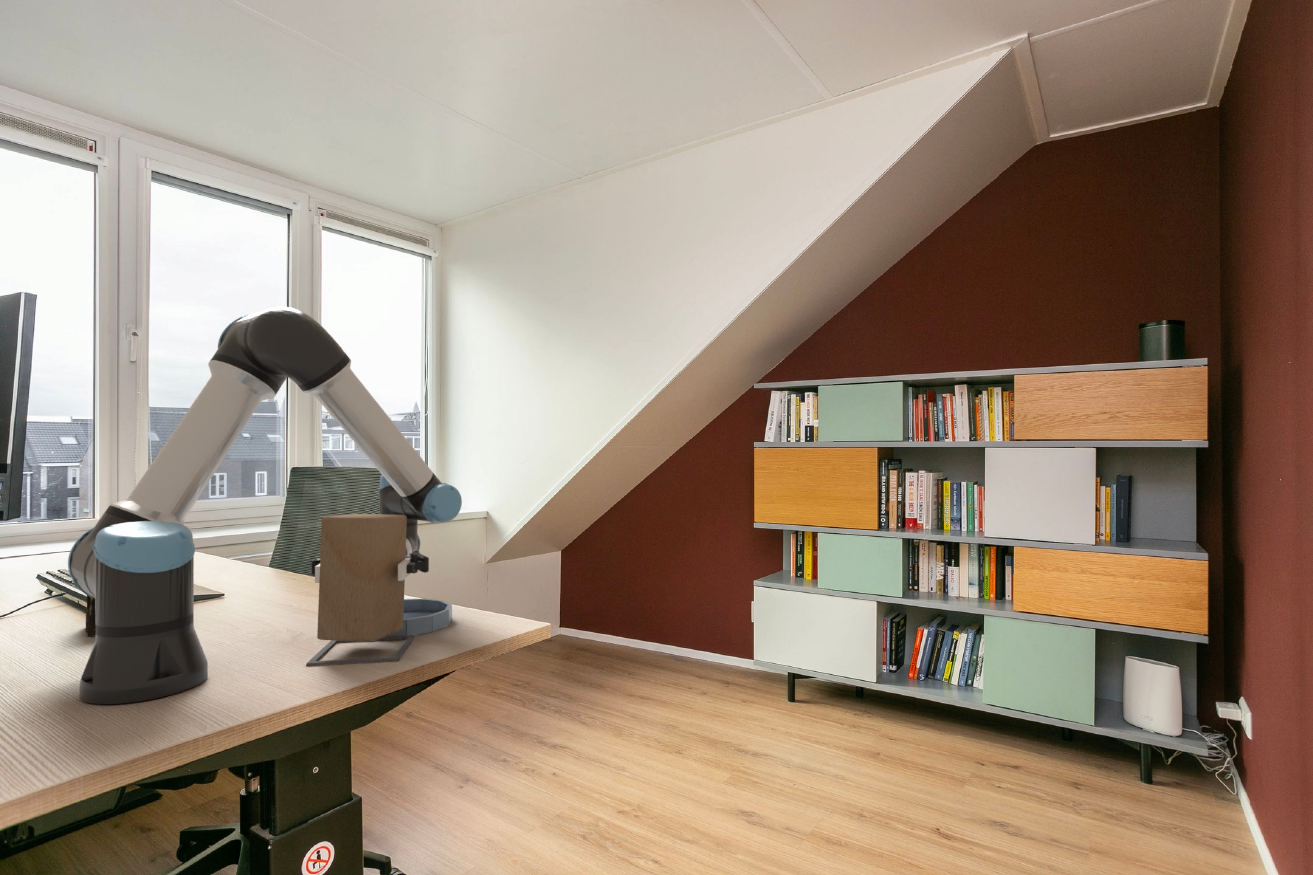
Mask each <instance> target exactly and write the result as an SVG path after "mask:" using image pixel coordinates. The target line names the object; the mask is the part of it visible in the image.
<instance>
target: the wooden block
mask: <svg viewBox="0 0 1313 875" xmlns="http://www.w3.org/2000/svg"><path fill="white" fill-rule="evenodd" d="M406 524H407V517H406V516H405V515H383V514H373V513H354V514H353V513H352V514H340V515H330V516H329V515H325V516H323V517H322V519H321V532H320V533H321V534H320V535H321V536H320V554H319V555H320V556H319V559H320V580H319V583H318V585H319V586H318V605H317V606H318V610H317V611H318V612H317V613H318V614H317V630H316V631H317V633H316V634H317V635H316V638H317V640H319V641H331V640H334V641H353V642H352V643H357V642H359V643H374V642H376V640H379V639H381V638H384V637H386V636H389V635H391V634H394V633H396V632H399V631H401V630H402V629H403V616H404V599H405V582H406V581H405V579H406V578H405V579H404V580H403V581H398V564H399V563H401V562H402V561H403V560H404V559H405V555H406Z"/></svg>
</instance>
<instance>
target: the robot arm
mask: <svg viewBox="0 0 1313 875" xmlns="http://www.w3.org/2000/svg"><path fill="white" fill-rule="evenodd" d="M207 364H208V368H209V371H210V374H211V376H210V378H209V380H208V381H206V384H205V385H204V386H203V388H202V389H201V391H200V393H199V394H198V395H197V397H196V398H195V400H194V401H193V403H192V404H191V405H190V407H189V409H188V410H187V411H186V413H185V415H183V417H182V419H181V420H180V421H179V423H178V425H176V428H175V429H174V431H172V433H171V435H170V436H169V438H168V439H167V441H165V444H164V445H163V446H162V447H161V449H160V450H159V452H158V454H157V455H156V456H155V458H154V460H153V461H152V463H151V464H150V465H149V466H148V468H147V470H146V471H145V472H144V474H143V475H142V477H141V478H140V480H139V481H138V482H137V484H136V486H135V487H134V489H133V490H132V491H131V492H130V493H129V494H130V495H129V496H128V497H127V498H125V499H123V500H120V501H116V502H113V503H110V504H109V505H108V507H107V508H106V510H105V511H104V513H103V514H102V516H101V517H100V519H99V520H98V521H97V522H96V524H95V526H94V527H92V528H90V529H88V530H87V531H86V532H85V533H83V534H82V535H81V536H80V537H78V539H76V541H75V542H74V544H73V545H72V546H71V548H70V551H69V553H68V559H67V568H68V570H67V571H68V574H69V576H70V577H71V580H72V583H74V585H75V586H76V588H77V589H78V590H79V591H81V592H82V593H83V594H84V595H85V596H86V595H88V596H90V597H93V598H95V609H96V636H95V639H94V643H93V646H92V649H91V652H90V655H89V656H88V660H87V662H86V664H85V667H84V670H83V673H82V675H81V677H80V680H79V699H80V701H83V702H84V703H89V704H95V705H117V704H129V703H135V702H143V701H149V700H155V699H159V698H163V697H167V696H171V695H174V694H177V693H181V692H184V691H186V690H189V689H192V688H194V687H197V686H199V685H200V684H202V683H203V682H205V681H206V680H207V679H208V677H209V674H208V673H209V671H208V669H209V668H208V667H209V666H208V659H207V657H206V655H205V652H204V650H203V647H202V644H201V642H200V639H199V637H198V634H197V632H196V629H195V626H194V623H195V622H194V621H195V620H194V618H195V617H194V607H195V606H194V604H195V603H194V597H195V596H194V589H195V588H194V584H195V583H194V582H195V581H194V575H195V572H194V570H195V569H194V568H195V567H194V564H195V563H194V562H195V561H194V558H195V552H196V548H195V543H194V538H193V537H194V536H193V533H192V531H191V529H190V528H189V527H188V526H186V525H184V523H185V522H184V521H185V519H186V518H187V517H188V515H189V513H190V511H191V510H192V509H193V507H194V506H195V505H196V503H197V501H198V499H199V498H200V496H201V494H202V493H203V491H204V490H205V488H206V487H207V486H208V484H209V482H210V481H211V479H212V478H213V476H214V475H215V473H216V471H217V470H218V468H219V466H221V464H222V462H223V460H224V459H225V457H226V456H227V455H228V453H229V451H230V450H231V448H233V447H232V446H233V445H234V444H235V442H236V440H237V439H238V437H239V436H240V435H241V432H242V431H243V430H244V428H245V427H246V425H247V423H248V422H249V420H250V419H251V417H252V416H253V414H254V413H255V411H256V409H257V408H258V406H259V405H260V403H261V402H263V401H266V400H271V399H274V398H275V397H276V396H277V394H278V393H279V391H280V389H281V387H282V386H283V384H284V383H285V381H286V380H287V378H288V379H290V380H291V381H293V382H294V383H295V384H296V385H297V386H298V388H299V389H300V390H301V391H302V392H303V393H307V394H311V395H313V396H314V397H315V398H316V399H317V400H318V402H319V403H320V404H321V405H322V406H323V407H324V409H325V410H326V411H327V413H329V414H330V416H331V417H332V418H333V420H334V421H336V423H338V425H339V426H340V427H341V428H342V429H343V431H344V432H345V433H346V434H347V435H348V436H349V438H350V439H351V440H352V441H353V442H354V443H355V445H356V446H357V447H358V448H359V450H361V452H362V453H363V454H364V455H365V456H366V457H367V459H368V460H369V461H370V462H371V463H372V464H373V466H374V467H375V468H376V469H377V470H378V472H379V473H380V474H381V475H380V478H379V489H378V503H379V504H378V506H379V509H378V510H379V514H383V515H405V516H406V517H407V524H406V555H405V559H404V560H403V561H402V562H401V563H399V564H398V581H403V580H404V579H406V578H407V577H409V576H410V575H411V574H417V573H418V572H419V571H420V572H422V573H424V574H425V573H428V572H429V570H430V568H429V567H430V559H429V557H428V556H426V555H424V554H422V553H420V549H421V538H420V536H419V534H418V521H420V522H428V523H432V524H438V523H442V524H443V523H448V522H450V521H451V522H452V521H453V520H454V519H455V518H457V516H458V515H459V513H460V511H461V509H462V504H463V500H462V496H461V493H460V491H459V490H458V488H456V487H455V486H453V485H452V484H451V485H450V484H448V483H446V482H442V481H441V480H440V479H439V477H437V476H436V475H435V473H434V472H433V471H432V469H431V468H430V467H429V465H428V464H427V463H426V462H425V461H424V459H423V458H422V457H421V455H420V454H419V453H418V452H417V451H416V449H415V448H414V447H413V445H412V444H411V443H410V442H409V440H408V439H407V437H405V436H404V434H403V433H402V432H401V430H400V429H399V428H398V427H397V425H396V424H395V423H394V422H393V421H392V419H391V418H390V417H389V415H388V414H387V413H386V411H384V409H383V407H381V405H380V404H379V403H378V402H377V401H376V399H375V398H374V397H373V395H372V394H371V393H370V391H369V390H368V389H367V387H365V384H363V383H362V381H361V380H360V379H359V378H358V377H357V375H356V374H355V373H354V372H353V370H352V369H351V366H352V359H351V358H350V357H349V356H348V355H347V353H346V352H345V351H344V349H343V348H342V346H340V344H339V343H338V342H337V341H336V340H335V338H334V337H333V336H332V335H331V334H330V332H328V331H327V330H326V329H325V327H323V325H321V324H320V323H319V322H318V321H316V320H315V318H313V317H311V316H310V315H308V314H307V313H305V312H304V311H301V310H299V309H296V308H293V307H288V306H276V307H270V308H268V309H264V310H263V311H260V312H259V311H258V312H255V313H251V314H245V315H243V316H240V317H238V318H236V319H234V320H233V321H232V322H231V323H229V324H228V325H227V326H226V327H225V328H224V329H223V331H222V332H221V334H220V336H219V339H218V343H217V350H216V351H215V353H214V354H213V356H212V357H211V359H210V360H209V361H208V363H207ZM310 564H311V569H310V571H311V572H310V574H311V576H314V583H315V584H319V580H320V558H314V559H311V563H310Z"/></svg>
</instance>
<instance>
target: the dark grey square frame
mask: <svg viewBox="0 0 1313 875" xmlns="http://www.w3.org/2000/svg"><path fill="white" fill-rule="evenodd" d="M415 636H416V635H411V636H390V637H384V638H381V639H379V640H376V641H377V642H378V641H381V642H382V641H397V640H398V641H402V640H403V643H402V645H401V646H400V647H399V649H398V650H397V651H396V653H395V654H394V655H393V657H389V656H387V657H372V658H371V657H370V658H351V659H333V660H331V659H330V660H321V659H322V658H323V656H325V655H326V654H327V653H328V652H329V651H330V650H331V649H332V648H333V647H334V646H335V645H336V644H339V643H354V642H353V641H334V640H329V642H328V643H327V644H326V645H325V646H323V647H322V648H321V649H320V650H319V651H318V652H317V653H316V654H315V655H314V656H313V657H311V659H310V660H308V661H307V662H306V664H305V667H310V666H311V667H312V666H313V667H314V666H330V665H334V666H335V665H350V664H352V665H353V664H370V663H371V664H372V663H386V662H387V663H389V662H399V661H400V660H401V658H402V657H403V655H404V654H405V652H406V650H407V649H408V648H409V647H410V645H411V644H412V642H413V641H414V640H415ZM376 641H375V642H376Z"/></svg>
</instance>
